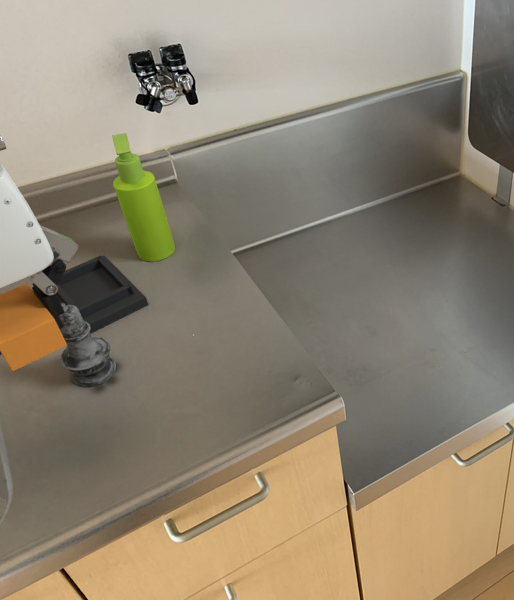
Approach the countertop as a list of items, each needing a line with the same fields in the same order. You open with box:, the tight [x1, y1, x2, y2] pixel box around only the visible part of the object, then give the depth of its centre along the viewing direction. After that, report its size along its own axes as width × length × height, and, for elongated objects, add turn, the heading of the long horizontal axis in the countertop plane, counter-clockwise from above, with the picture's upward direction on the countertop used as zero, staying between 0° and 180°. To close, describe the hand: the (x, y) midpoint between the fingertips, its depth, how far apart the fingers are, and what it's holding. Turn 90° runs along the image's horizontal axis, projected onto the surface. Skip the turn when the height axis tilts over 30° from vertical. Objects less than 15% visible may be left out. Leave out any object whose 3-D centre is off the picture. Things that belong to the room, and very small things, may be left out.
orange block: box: [0, 283, 67, 372], centre depth 58 cm, size 5×7×4 cm
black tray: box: [56, 254, 149, 334], centre depth 90 cm, size 10×14×3 cm
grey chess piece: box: [59, 303, 117, 388], centre depth 76 cm, size 6×6×12 cm
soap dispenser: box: [111, 132, 176, 263], centre depth 93 cm, size 6×7×20 cm
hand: (24, 333), depth 59 cm, fingers closed on orange block, 5 cm apart
